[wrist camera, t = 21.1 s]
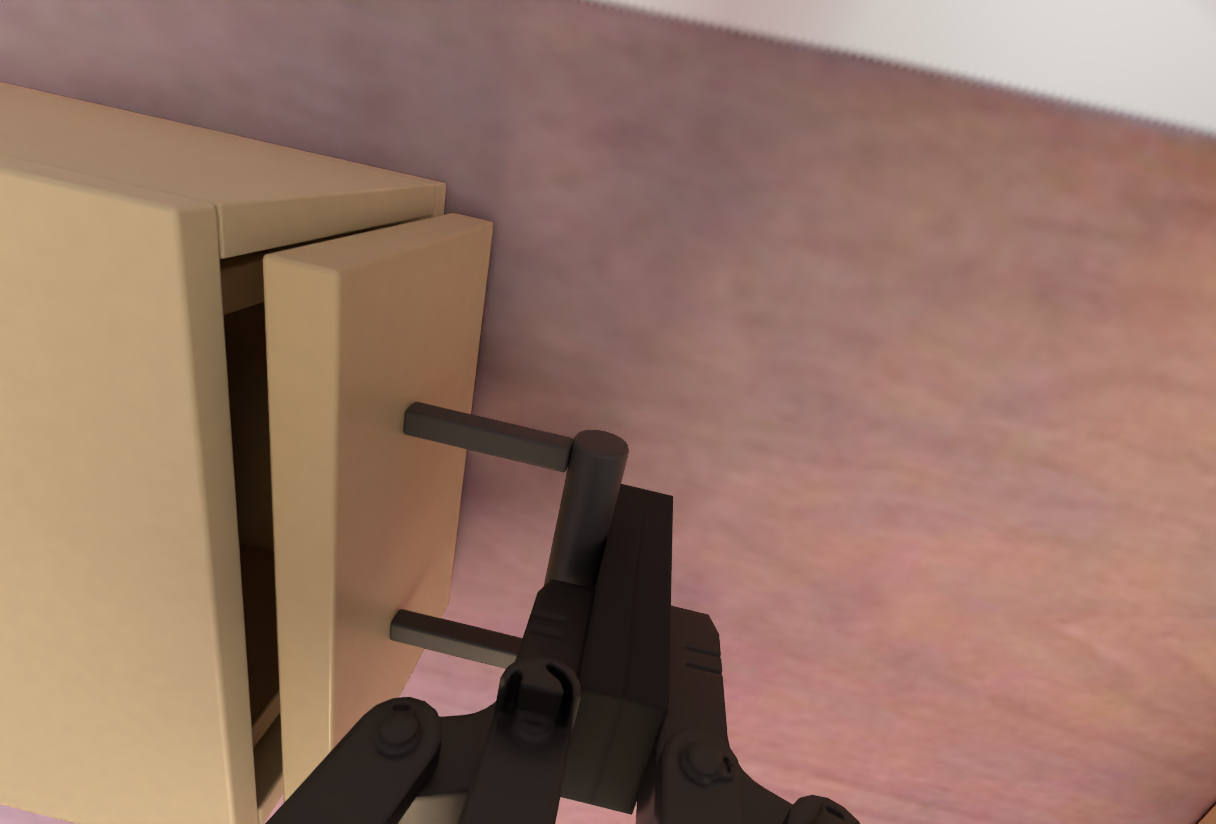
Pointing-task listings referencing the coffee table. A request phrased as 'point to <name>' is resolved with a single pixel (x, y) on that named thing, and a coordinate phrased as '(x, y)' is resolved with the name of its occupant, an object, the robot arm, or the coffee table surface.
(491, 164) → the coffee table surface
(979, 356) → the coffee table surface
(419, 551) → the drawer
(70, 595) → the cabinet
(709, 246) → the coffee table surface
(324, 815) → the robot arm
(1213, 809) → the board
